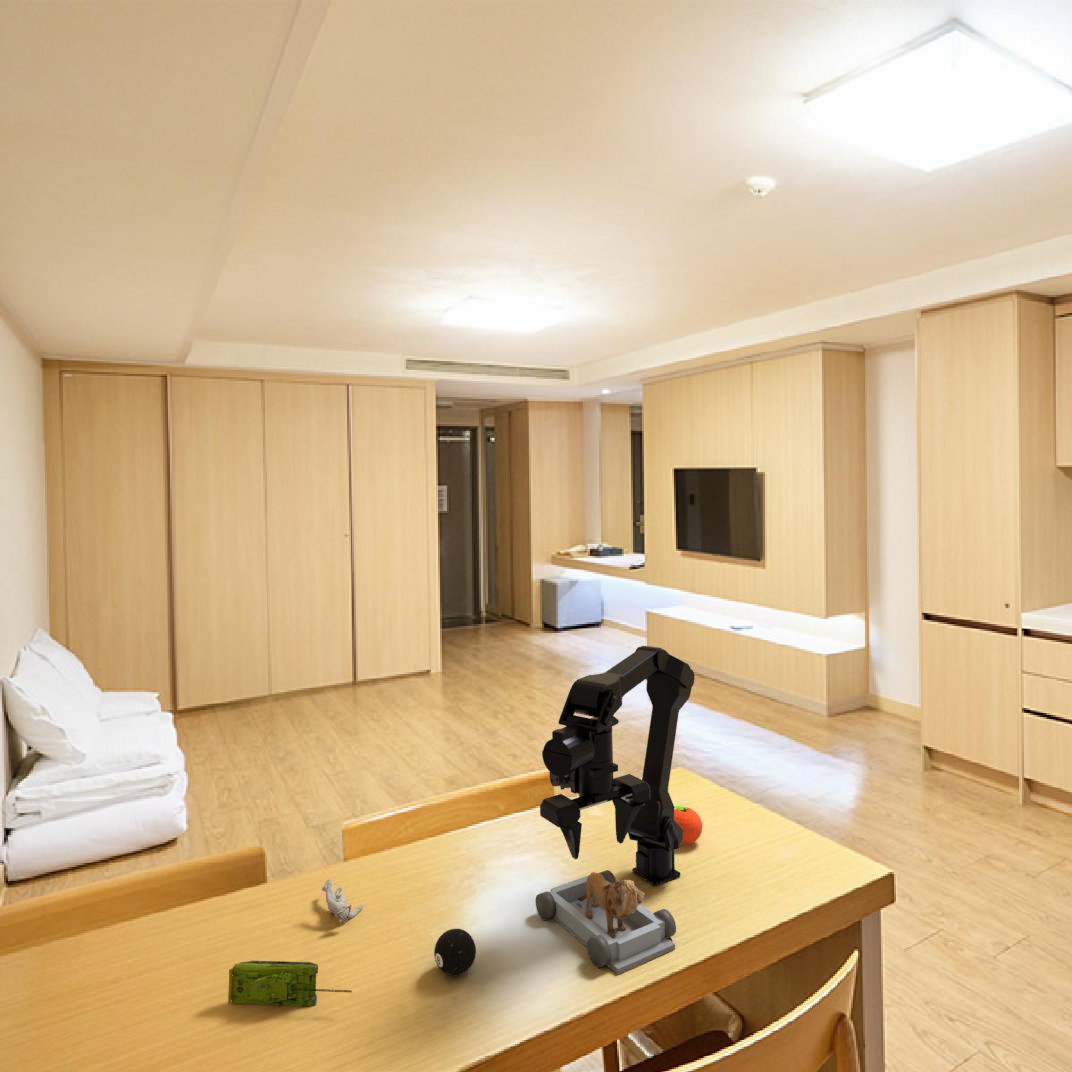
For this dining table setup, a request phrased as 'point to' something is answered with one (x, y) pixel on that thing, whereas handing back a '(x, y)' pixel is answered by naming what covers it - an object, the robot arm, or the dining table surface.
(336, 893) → the grey irregular piece
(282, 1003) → the toy tank
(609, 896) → the lion figurine
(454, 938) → the billiard ball
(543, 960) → the dining table surface
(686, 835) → the clementine
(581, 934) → the chassis
